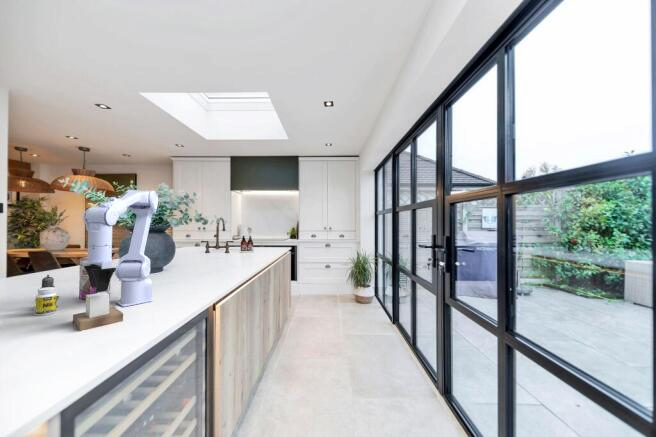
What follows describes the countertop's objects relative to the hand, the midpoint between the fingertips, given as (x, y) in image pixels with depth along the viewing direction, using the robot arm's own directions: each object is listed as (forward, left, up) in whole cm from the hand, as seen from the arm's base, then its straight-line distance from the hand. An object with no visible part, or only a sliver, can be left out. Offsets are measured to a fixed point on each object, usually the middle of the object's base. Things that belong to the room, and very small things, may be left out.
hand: (99, 289), depth 82 cm
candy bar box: (-5, -30, -10) cm, 32 cm away
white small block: (0, 0, -8) cm, 8 cm away
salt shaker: (+8, -29, -10) cm, 32 cm away
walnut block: (0, 0, -11) cm, 11 cm away
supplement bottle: (+9, -22, -10) cm, 26 cm away
